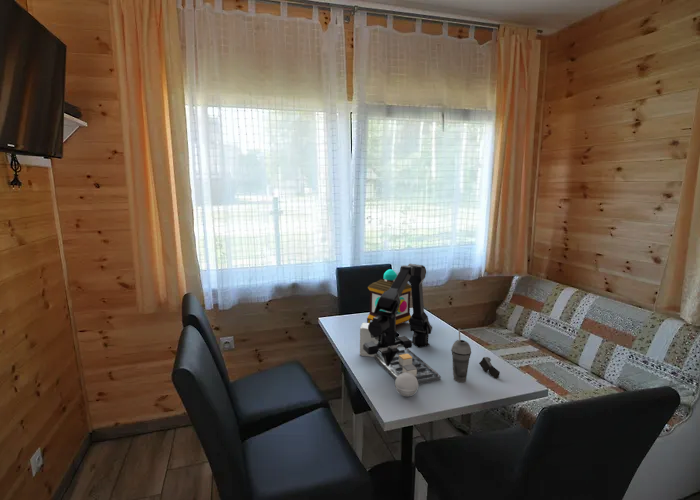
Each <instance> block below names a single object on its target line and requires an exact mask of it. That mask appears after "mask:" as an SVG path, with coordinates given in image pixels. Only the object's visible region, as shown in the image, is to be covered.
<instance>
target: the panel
mask: <svg viewBox="0 0 700 500" xmlns="http://www.w3.org/2000/svg"><path fill="white" fill-rule="evenodd" d="M402 354H409V355H410V356H411V357H412V365H414V366H415V367H416V368H417V376H415V377H416V379H417V381H418V385H422V384H426V383H431V382H436V381H439V380H441V376H440V374H439V373H438V372H437V371H436V370H435V369H434V368H432V367H431V366H430V365H429V364H428V363H426V362H425V361H424V360H423V359H421V358H420V357H419V356H417V354H415V353H414V352H413V351H411V350H410V348H405V347H404V349H399V352H397V353H396V355H395V357H394V358H393V359H392V361H391V363H390V365H389V366H387V365H386V363H385V360H384V357H383V355H382V353H381V352H378V353H377V354H376V355H374V360H375V361H376V362H377V363H378V364H380V366H381V367H382V368H383V369H384V370H385V371H386V372H387V373H388V374H389V375H390V377H392V378H393V379H394V380H395V381H396V378H397V377H398V375H400V374H401V373H402V372H403V366H402V365H400V364H399V355H402Z"/></svg>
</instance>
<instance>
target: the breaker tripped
mask: <svg viewBox="0 0 700 500" xmlns="http://www.w3.org/2000/svg"><path fill="white" fill-rule="evenodd" d="M399 364H400V365H402V366H404V365H410V364H412V357H411V356H410V355H409V354H402V355H399Z"/></svg>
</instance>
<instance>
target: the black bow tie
mask: <svg viewBox="0 0 700 500" xmlns="http://www.w3.org/2000/svg"><path fill="white" fill-rule="evenodd" d="M491 361H492V359H491V357H489V356H483V358H482V359H481V361H480V362H479V363H478V364H479V366H480V367H481V368H482V370H483V372H484V373H485V372H488V374H489V375H490V376H491V377H493V378H494V379H499V377H500V371H499V370H498V369H497V368H495V367H494V365H493V364H492V362H491Z"/></svg>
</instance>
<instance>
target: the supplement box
mask: <svg viewBox="0 0 700 500" xmlns="http://www.w3.org/2000/svg"><path fill="white" fill-rule="evenodd" d="M368 325H369V323H367V322H362V323H361V325H360V327H359V356H361V357H362V356H363V357H371V358H373V357H374V355H376V354H372V355H369V354H368V353H367V352H366V351H365V350H364V349H363V345H364V343H365V342H371V341H373V342H374V343H375V344H379V341H378V339H375V338H371V335H370V332H369V330H368Z"/></svg>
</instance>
